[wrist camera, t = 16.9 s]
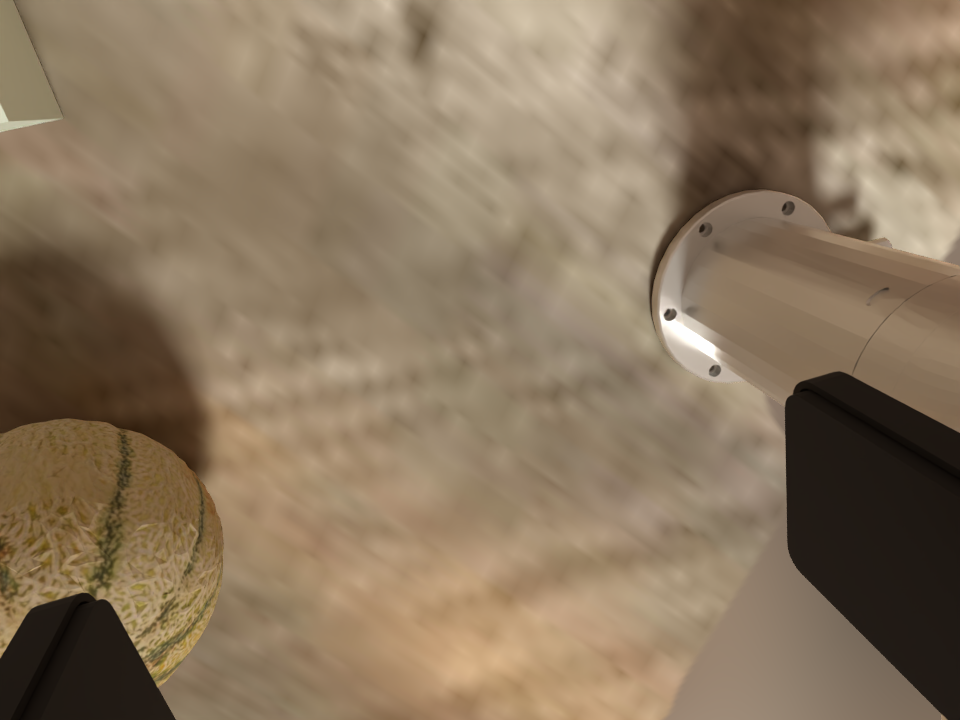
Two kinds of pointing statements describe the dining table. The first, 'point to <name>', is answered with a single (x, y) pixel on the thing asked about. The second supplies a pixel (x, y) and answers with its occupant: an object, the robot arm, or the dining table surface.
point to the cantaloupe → (108, 534)
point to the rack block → (22, 76)
